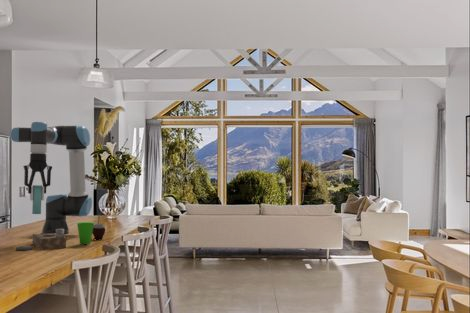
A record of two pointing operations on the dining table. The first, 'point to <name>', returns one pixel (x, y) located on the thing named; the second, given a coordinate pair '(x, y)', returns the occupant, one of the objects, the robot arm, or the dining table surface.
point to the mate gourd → (98, 230)
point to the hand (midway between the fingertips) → (36, 200)
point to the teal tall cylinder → (37, 199)
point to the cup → (85, 232)
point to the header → (50, 240)
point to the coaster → (23, 248)
